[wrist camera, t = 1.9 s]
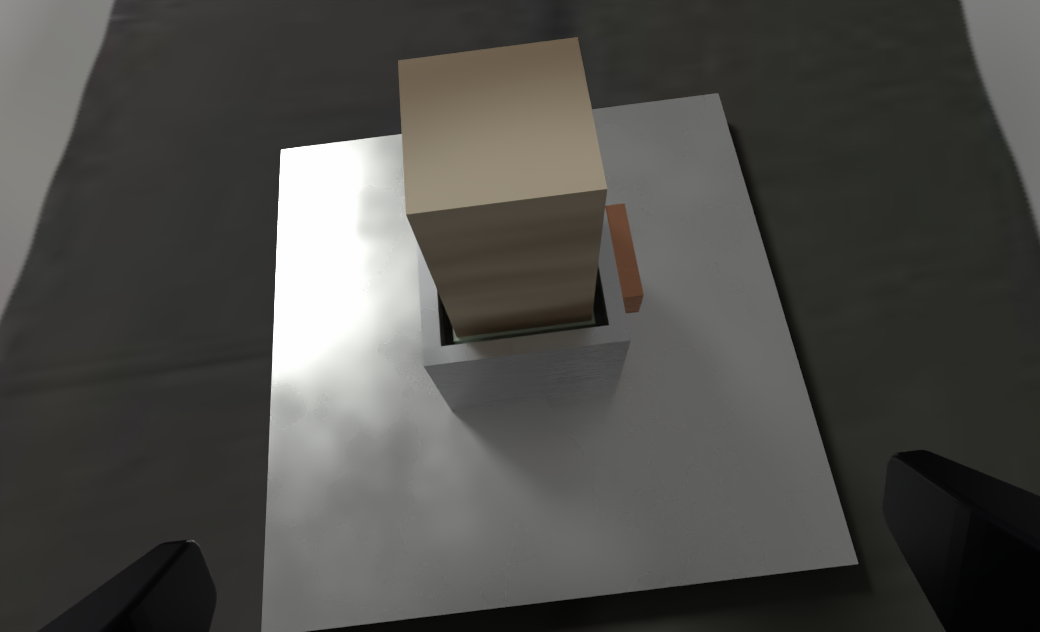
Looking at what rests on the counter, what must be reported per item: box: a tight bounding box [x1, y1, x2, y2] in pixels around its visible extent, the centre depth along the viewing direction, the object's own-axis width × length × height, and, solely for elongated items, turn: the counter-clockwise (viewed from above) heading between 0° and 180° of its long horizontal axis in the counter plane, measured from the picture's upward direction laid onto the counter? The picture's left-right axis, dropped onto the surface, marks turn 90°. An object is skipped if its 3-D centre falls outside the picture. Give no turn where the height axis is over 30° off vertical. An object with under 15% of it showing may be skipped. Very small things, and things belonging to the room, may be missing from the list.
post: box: [398, 37, 607, 345], centre depth 18 cm, size 4×4×10 cm
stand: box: [262, 93, 858, 632], centre depth 21 cm, size 18×18×6 cm
